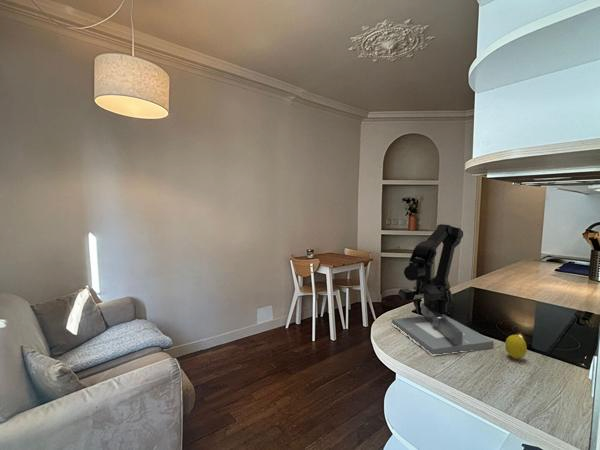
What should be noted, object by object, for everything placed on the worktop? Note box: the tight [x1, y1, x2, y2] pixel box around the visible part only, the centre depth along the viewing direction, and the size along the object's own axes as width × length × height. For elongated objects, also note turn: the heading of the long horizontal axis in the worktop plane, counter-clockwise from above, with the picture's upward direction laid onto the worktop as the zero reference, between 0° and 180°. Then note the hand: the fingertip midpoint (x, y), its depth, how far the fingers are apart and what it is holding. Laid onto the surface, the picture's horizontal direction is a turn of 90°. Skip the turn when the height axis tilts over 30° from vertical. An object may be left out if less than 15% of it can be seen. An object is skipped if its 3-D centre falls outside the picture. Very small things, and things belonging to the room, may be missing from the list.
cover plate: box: [391, 314, 494, 354], centre depth 110 cm, size 24×24×3 cm
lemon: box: [504, 333, 528, 360], centre depth 94 cm, size 6×6×8 cm
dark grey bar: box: [420, 302, 463, 345], centre depth 109 cm, size 27×4×4 cm, turn 0°
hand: (422, 313), depth 121 cm, fingers open, 3 cm apart
